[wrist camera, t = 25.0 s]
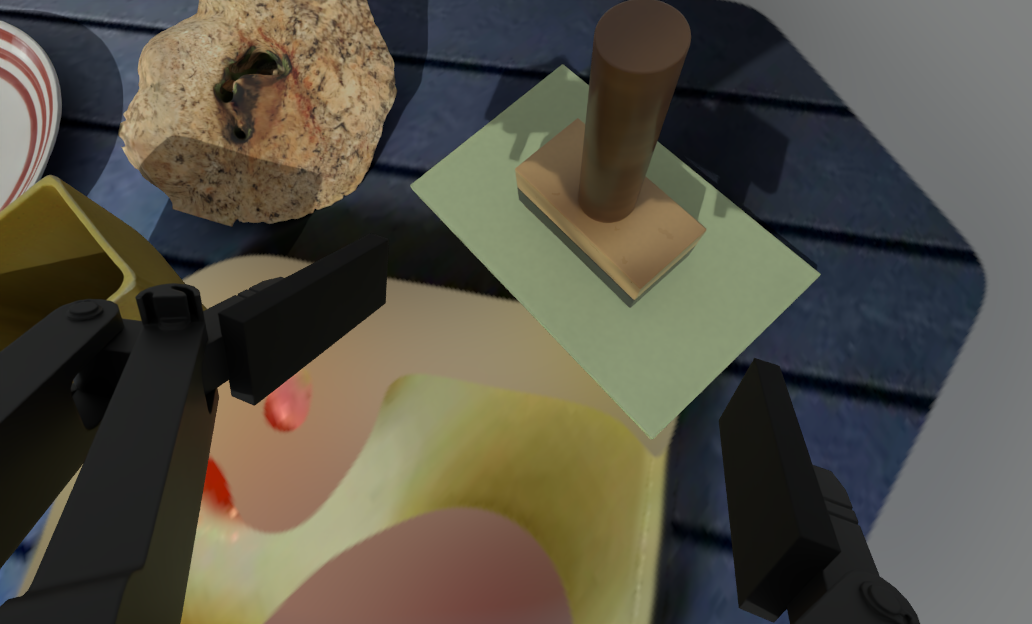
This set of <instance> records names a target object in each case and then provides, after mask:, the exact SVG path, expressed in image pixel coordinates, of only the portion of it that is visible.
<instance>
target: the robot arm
mask: <svg viewBox="0 0 1032 624" xmlns="http://www.w3.org/2000/svg"><path fill="white" fill-rule="evenodd" d="M388 248H389V239H386V238H383V237H380V236H377V235H374V234H371V233H370V234H369V235H367V236H365V237H363V238H361V239H359V240H357V241H355V242H353V243H351V244H349V245H347V246H345V247H344V248H342V249H340V250H338V251H336V252H334V253H332V254H330V255H328V256H326V257H324V258H322V259H321V260H319V261H317V262H315V263H313V264H311V265H309V266H307V267H305V268H303V269H301V270H299V271H298V272H296V273H294V274H292V275H290V276H288V277H286V278H283V277H279V278H274V279H270V280H266V281H262V282H261V283H259V284H257V285H254V286H252V287H250V288H249V290H245V291H243V292H240V293H239V294H238V295H237V296H236V295H235V296H232V297H231V298H229V299H227V300H225V301H223V302H221V303H219V304H217V305H215V306H213V307H211V308H209V309H207V310H205V311H203V308H202V303H201V297H200V292H199V290H198V289H196V288H195V287H194V286H190V285H187V284H178V283H171V284H161V285H157V286H153V287H149V288H147V289H145V290H143V291H141V292H140V293H139V294H138V295H137V296H136V297H135V298H136V302H137V306H138V309H139V313H140V317H141V320H142V321H138V320H130V319H122V317H121V314H120V310H119V307H118V304H116V303H114V302H112V301H109V300H103V299H84V300H78V301H74V302H72V303H69V304H66V305H63V306H61V307H59V308H57V309H56V310H54V311H53V312H51V313H50V314H49V315H47V316H46V317H45V318H43V319H42V320H41V321H40V322H38V323H37V324H36V325H34V326H33V327H32V328H30V329H29V330H28V331H27V332H25V333H24V334H23V335H21V336H20V337H19V338H17V339H16V340H15V341H14V342H12V343H11V344H10V345H8V346H7V347H6V348H4V349H3V350H2V351H1V352H0V569H1V567H2V566H3V565H4V563H5V562H6V561H7V560H8V558H9V557H10V556H11V555H12V553H13V552H14V551H15V549H16V548H17V547H18V546H19V544H20V543H21V542H22V541H23V539H24V538H25V537H26V536H27V534H28V533H29V532H30V530H31V529H32V528H33V527H34V525H35V524H36V523H37V522H38V520H39V519H40V518H41V517H42V515H43V514H44V513H45V511H46V510H47V509H48V508H49V506H50V505H51V504H52V503H53V501H54V500H55V499H56V497H57V496H58V495H59V494H60V492H61V491H62V490H63V489H64V487H65V486H66V485H67V483H68V482H69V481H70V480H71V478H72V477H73V476H74V475H75V473H76V472H77V471H78V470H79V468H80V467H81V465H82V464H83V466H82V468H81V470H80V473H79V475H78V477H77V480H76V482H75V484H74V487H73V490H72V491H71V494H70V496H69V498H68V501H67V503H66V505H65V508H64V510H63V512H62V515H61V517H60V519H59V522H58V524H57V526H56V529H55V531H54V533H53V536H52V538H51V540H50V542H49V545H48V547H47V549H46V552H45V554H44V557H43V559H42V561H41V564H40V566H39V568H38V570H37V573H36V575H35V577H34V580H33V582H32V584H31V586H30V588H29V589H28V591H27V592H26V593H25V594H24V595H23V596H21V597H16V598H12V599H8V600H7V601H6V602H5V603H4V604H3V605H2V606H0V624H180V622H181V617H182V611H183V605H184V599H185V593H186V587H187V581H188V576H189V570H190V564H191V558H192V552H193V546H194V541H195V535H196V529H197V523H198V517H199V511H200V505H201V500H202V494H203V488H204V482H205V476H206V470H207V464H208V459H209V453H210V446H211V441H212V434H213V429H214V423H215V417H216V412H217V406H218V400H219V395H218V389H217V387H219V386H220V385H222V384H223V383H225V382H226V381H228V380H229V383H230V389H231V395H232V396H233V397H235V398H237V399H240V400H242V401H245V402H247V403H249V404H252V405H256V404H257V403H259V402H260V401H261V400H263V399H264V398H265V397H266V396H268V395H269V394H270V393H271V392H273V391H274V390H275V389H277V388H278V387H279V386H280V385H282V384H283V383H284V382H286V381H287V380H288V379H289V378H291V377H292V376H293V375H294V374H296V373H297V372H298V371H300V370H301V369H302V368H303V367H305V366H306V365H307V364H308V363H310V362H311V361H312V360H314V359H315V358H316V357H317V356H319V355H320V354H321V353H323V352H324V351H325V350H326V349H328V348H329V347H330V346H332V345H333V344H334V343H335V342H337V341H338V340H339V339H340V338H342V337H343V336H344V335H345V334H347V333H348V332H349V331H351V330H352V329H353V328H355V327H356V326H357V325H358V324H360V323H361V322H362V321H363V320H365V319H366V318H367V317H369V316H370V315H371V314H372V313H374V312H375V311H376V310H377V309H379V308H380V307H381V306H383V305H384V304H385V303H386V284H387V266H388ZM73 381H74V382H73ZM72 382H73V383H72ZM719 427H720V436H721V446H722V455H723V464H724V474H725V483H726V492H727V502H728V511H729V520H730V530H731V539H732V548H733V557H734V567H735V576H736V585H737V595H738V604H739V608H740V609H742V610H745V611H747V612H750V613H752V614H754V615H757V616H759V617H762V618H764V619H766V620H769V621H771V622H775V621H776V620H777V619H778V618H779V617H780V615H781V614H782V613H783V612H784V611H785V610H786V609H787V610H788V615H789V620H790V624H920V623H919V620H918V617H917V614H916V613H915V611H914V609H913V608H912V606H911V605H910V603H909V602H908V601H907V599H906V598H905V597H904V596H903V595H902V594H901V593H900V592H899V591H898V590H897V589H896V588H895V587H893V586H892V585H891V584H890V583H888V582H887V581H885V580H884V579H883V578H881V577H880V576H879V573H878V571H877V568H876V566H875V563H874V561H873V558H872V556H871V553H870V550H869V548H868V545H867V543H866V540H865V538H864V535H863V533H862V530H861V528H860V526H859V525H858V520H857V517H856V515H855V512H854V511H853V510H852V508H853V507H852V505H851V502H850V500H849V497H848V494H847V492H846V490H845V488H844V487H843V486H842V485H841V483H840V482H839V481H838V479H837V478H836V477H835V476H834V474H833V473H832V472H831V471H829V470H826V469H823V468H820V467H817V466H815V465H812V462H811V459H810V456H809V453H808V450H807V447H806V444H805V441H804V438H803V435H802V432H801V429H800V426H799V423H798V420H797V417H796V414H795V411H794V408H793V405H792V402H791V399H790V396H789V393H788V390H787V387H786V384H785V381H784V378H783V375H782V372H781V369H780V366H778V365H775V364H772V363H769V362H766V361H762V360H759V359H756V358H754V360H753V362H752V363H751V365H750V367H749V369H748V370H747V372H746V374H745V376H744V377H743V379H742V381H741V383H740V384H739V386H738V388H737V390H736V391H735V393H734V395H733V397H732V398H731V400H730V402H729V403H728V405H727V407H726V409H725V410H724V412H723V414H722V416H721V417H720V419H719Z"/></svg>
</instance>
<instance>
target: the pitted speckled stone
mask: <svg viewBox="0 0 1032 624" xmlns="http://www.w3.org/2000/svg"><path fill="white" fill-rule="evenodd" d="M138 73H139V76H140V82H139V87H140V89H139V91H138V93H137V94H136V96H135V97H134V99H133V100H132V102H131V103H130V105H129V107H128V110H127V111H126V112H125V113H124V116H125V118H126V121H124V122H122V123H120V128H119V133H118V135H119V136H120V137H121V138H122V139H123V141H124V143H125V145H126V146H125V147H122V149H123V150H124V152H125V154H126V156H127V158H128V160H129V162H130V163H131V164H132V165H133V166H134V167H135V168H136V169H138V170H139V171H140V173H141V174H142V176H143V177H144V178H145V179H146V180H148V181H149V182H150V183H151V184H153V185H155V186H156V187H158V188H160V189H161V190H162V191H163V192H164V193H165V194H166V195H167V196H168V197H169V198H170V200H171V201H172V204H173V209H175V210H178V211H181V212H184V213H188V214H191V215H194V216H198V217H201V218H204V219H208V220H211V221H214V222H218V223H221V224H225V225H228V226H232V227H233V223H234V222H235V221H236V220H237V219H239V222H240V221H242V222H243V223H244V222H251V223H259V222H266V223H268V224H272V223H276V222H280V221H287V220H289V219H298V218H300V217H303V216H305V215H307V214H309V213H313V211H314V209H321V208H324V207H327V206H331V205H332V204H333V203H334V202H336V201H338V200H340V199H342V198H343V195H348V194H350V193H352V192H353V191H355V190H356V188H357V185H358V184H359V183H361V181H362V179H363V178H364V175H365V173H366V172H367V171H368V169H369V167H370V164H371V161H372V159H373V155H374V152H375V149H376V147H377V143H378V141H379V138H380V137H381V134H382V128H383V123H384V121H385V118H386V115H387V114H388V112H389V111H390V109H391V107H392V105H393V103H394V100H395V97H396V93H397V89H396V87H395V76H394V61H393V59H392V56H391V55H390V53H389V51H388V48H387V45H386V44H385V41H384V40H383V38H382V36H381V34H380V31H379V29H378V27H377V26H376V25H375V23H374V18H373V16H372V14H371V12H370V9H369V6H368V2H367V0H199V6H198V12H197V13H196V14H195V15H194V16H192V17H190V18H188V19H185V20H183V21H181V22H179V23H178V24H177V25H176V26H173V27H170V28H169V29H167V30H165V31H163V32H161V33H159V34H158V35H156V36H155V37H154V38H152V39H151V40H150V41H149V43H148V44H146V45H145V47H144V48H143V50H142V53H141V56H140V59H139V64H138ZM232 91H233V92H232Z"/></svg>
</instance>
